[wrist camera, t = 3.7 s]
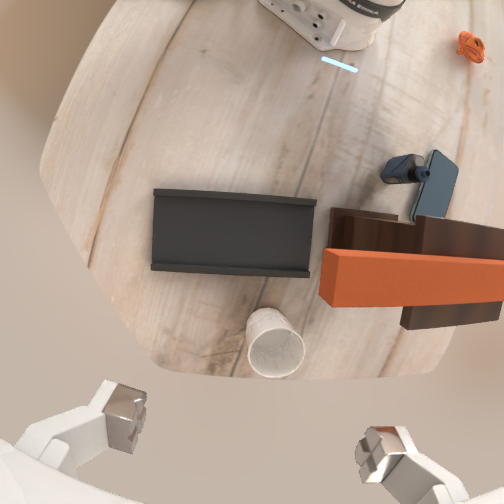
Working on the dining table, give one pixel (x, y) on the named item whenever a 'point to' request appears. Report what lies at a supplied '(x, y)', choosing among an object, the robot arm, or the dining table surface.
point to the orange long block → (407, 279)
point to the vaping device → (405, 170)
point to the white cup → (273, 344)
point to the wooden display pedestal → (424, 243)
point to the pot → (471, 47)
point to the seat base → (231, 233)
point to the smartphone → (436, 188)
